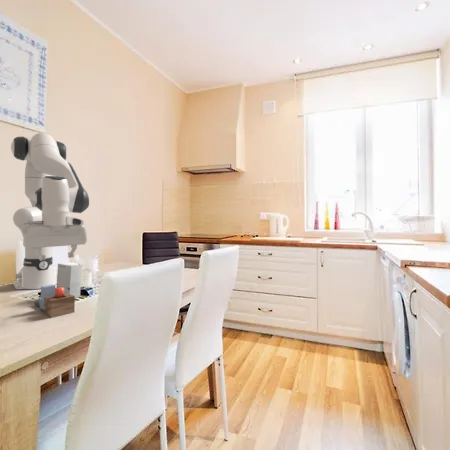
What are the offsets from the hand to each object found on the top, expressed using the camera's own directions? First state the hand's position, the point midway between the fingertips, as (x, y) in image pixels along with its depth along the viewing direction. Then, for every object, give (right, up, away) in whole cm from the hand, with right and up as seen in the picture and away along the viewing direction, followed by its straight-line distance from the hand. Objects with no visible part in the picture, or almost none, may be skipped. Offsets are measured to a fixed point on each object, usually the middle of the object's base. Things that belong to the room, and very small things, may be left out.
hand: (57, 258), depth 107 cm
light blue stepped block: (-5, -20, +3) cm, 21 cm away
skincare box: (-7, -19, +21) cm, 29 cm away
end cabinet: (0, -20, +1) cm, 20 cm away
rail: (-8, -20, +6) cm, 22 cm away
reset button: (0, -14, +1) cm, 14 cm away
